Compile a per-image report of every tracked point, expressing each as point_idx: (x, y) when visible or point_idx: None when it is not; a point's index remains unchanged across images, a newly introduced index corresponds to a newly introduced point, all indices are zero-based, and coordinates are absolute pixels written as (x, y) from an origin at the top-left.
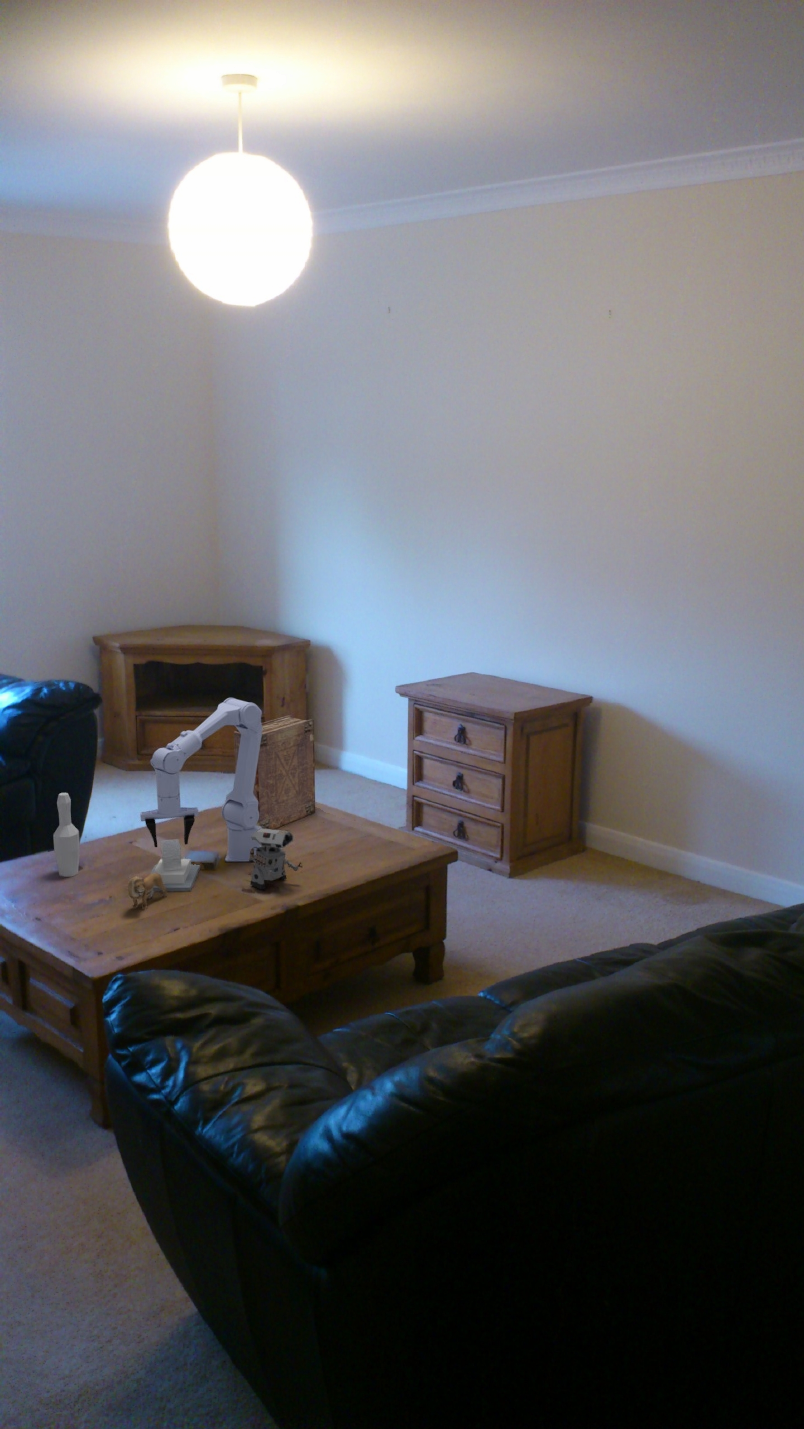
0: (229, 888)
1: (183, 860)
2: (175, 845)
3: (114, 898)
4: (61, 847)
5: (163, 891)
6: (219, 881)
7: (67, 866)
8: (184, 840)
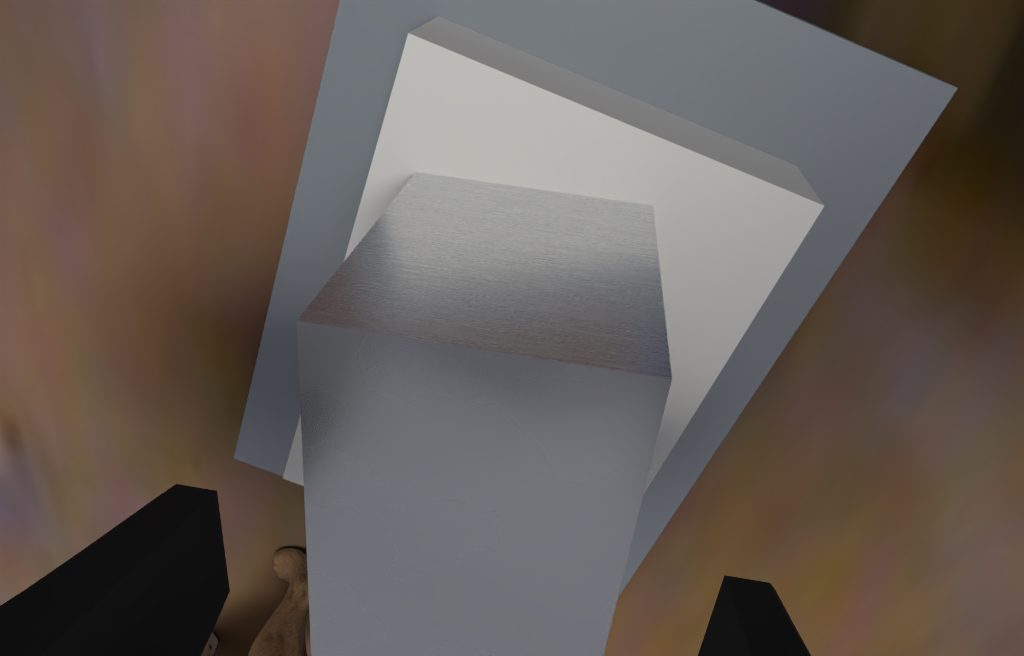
0: (931, 642)
1: (705, 226)
2: (529, 630)
3: (44, 469)
4: None
5: None
6: (931, 502)
7: None
8: (717, 653)
